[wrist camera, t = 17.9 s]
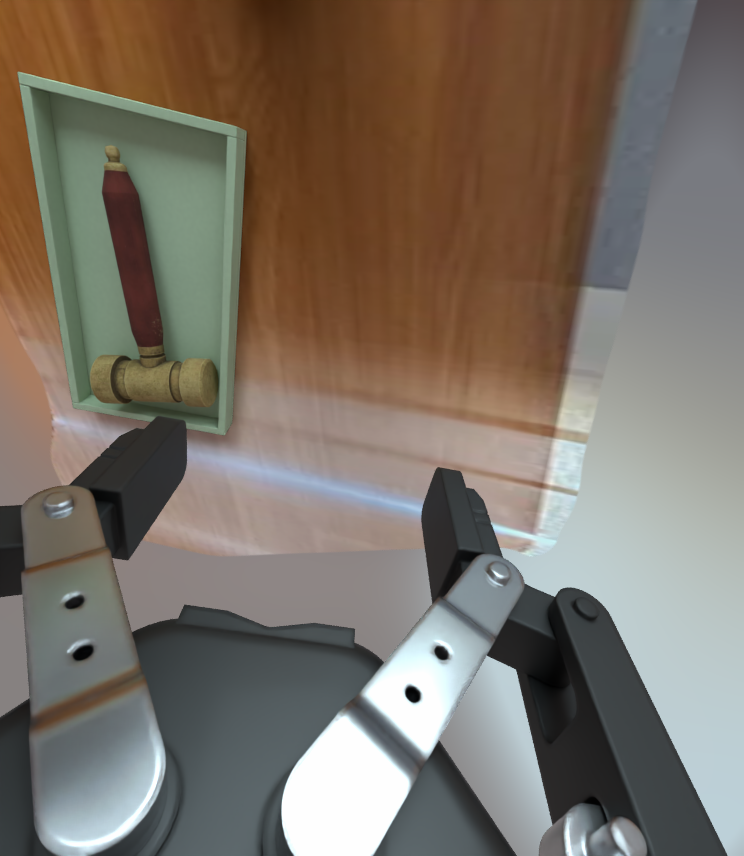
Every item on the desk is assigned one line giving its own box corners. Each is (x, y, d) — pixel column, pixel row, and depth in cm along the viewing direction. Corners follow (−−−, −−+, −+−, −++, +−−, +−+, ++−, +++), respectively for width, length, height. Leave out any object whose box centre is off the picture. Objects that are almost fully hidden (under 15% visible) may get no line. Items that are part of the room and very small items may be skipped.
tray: (43, 79, 31) (16, 71, 28) (247, 130, 32) (237, 126, 30) (88, 396, 44) (72, 408, 41) (232, 423, 45) (224, 435, 43)
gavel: (20, 135, 29) (164, 142, 29) (64, 146, 33) (190, 152, 33) (95, 410, 38) (205, 415, 38) (122, 392, 42) (221, 396, 42)
